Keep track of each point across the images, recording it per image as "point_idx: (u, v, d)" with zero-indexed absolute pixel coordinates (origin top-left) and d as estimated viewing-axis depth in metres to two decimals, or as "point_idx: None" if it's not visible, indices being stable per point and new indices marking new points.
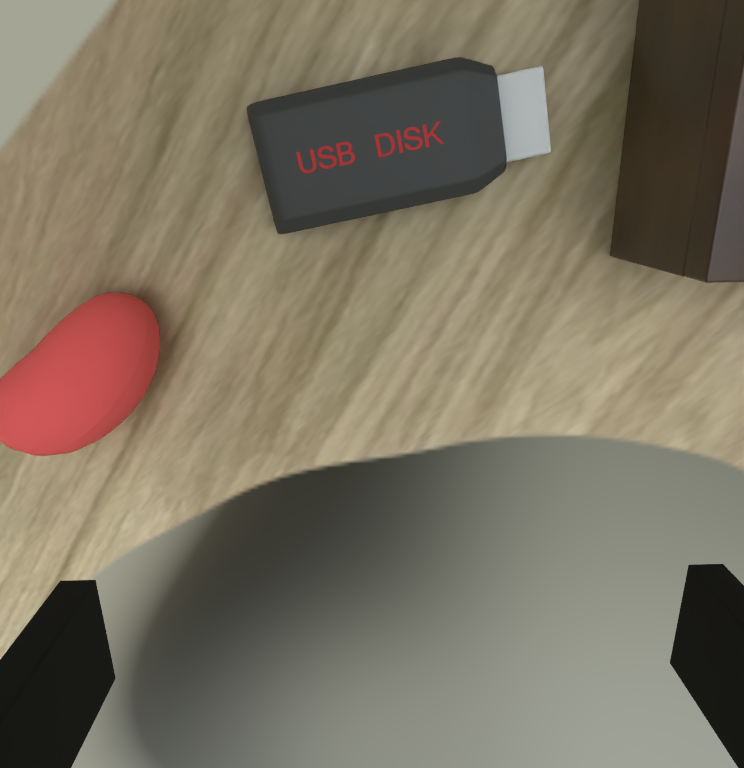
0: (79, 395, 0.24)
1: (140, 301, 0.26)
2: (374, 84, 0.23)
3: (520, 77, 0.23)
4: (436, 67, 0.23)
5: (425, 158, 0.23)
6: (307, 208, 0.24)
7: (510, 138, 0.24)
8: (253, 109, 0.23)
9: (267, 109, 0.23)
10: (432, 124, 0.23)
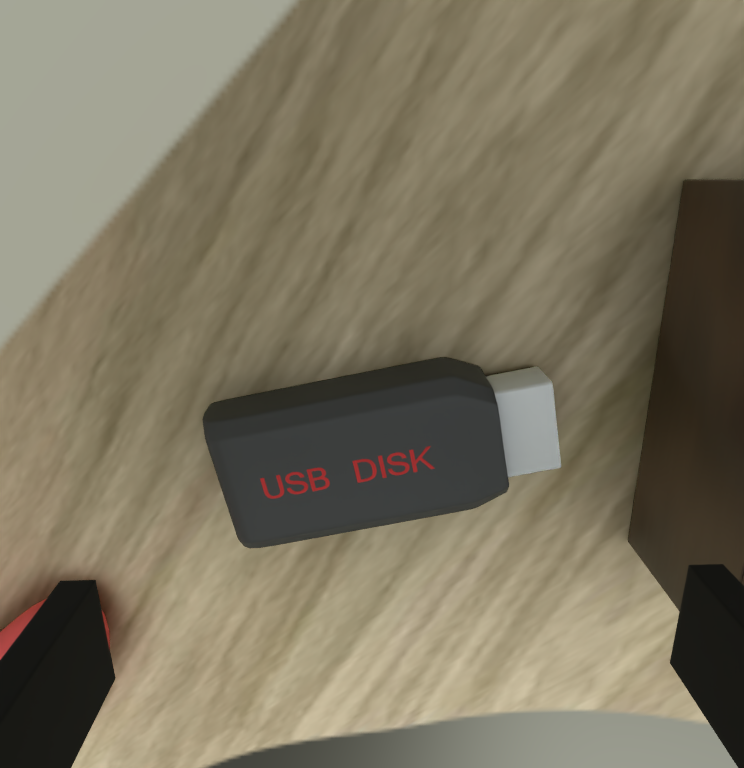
0: None
1: None
2: (351, 407, 0.19)
3: (525, 394, 0.19)
4: (425, 389, 0.19)
5: (412, 482, 0.20)
6: (274, 532, 0.20)
7: (513, 455, 0.20)
8: (209, 430, 0.19)
9: (225, 434, 0.19)
10: (421, 449, 0.19)
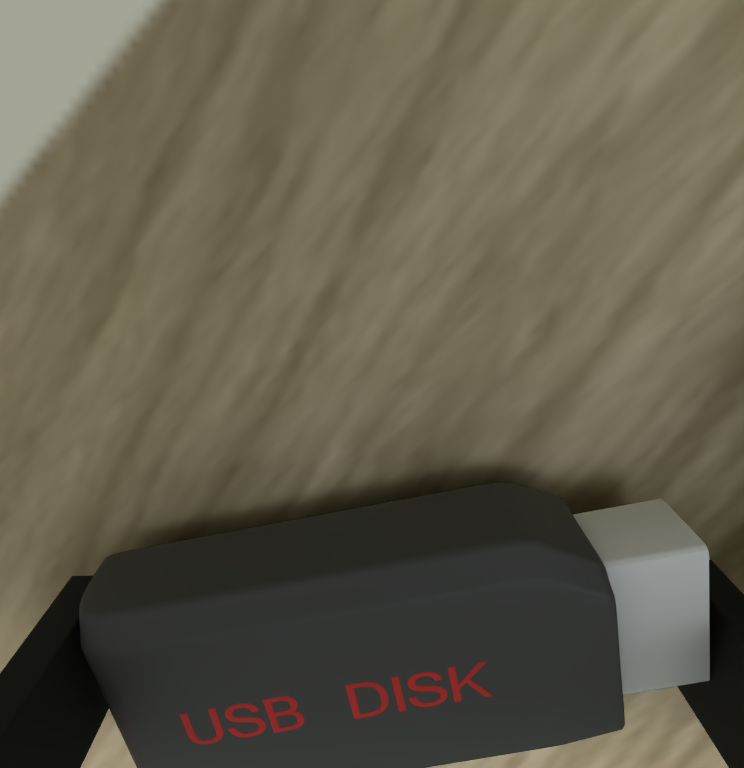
0: None
1: None
2: (343, 597, 0.10)
3: (658, 568, 0.11)
4: (479, 564, 0.10)
5: (451, 718, 0.11)
6: None
7: (628, 664, 0.11)
8: (86, 629, 0.11)
9: (113, 642, 0.11)
10: (469, 667, 0.11)
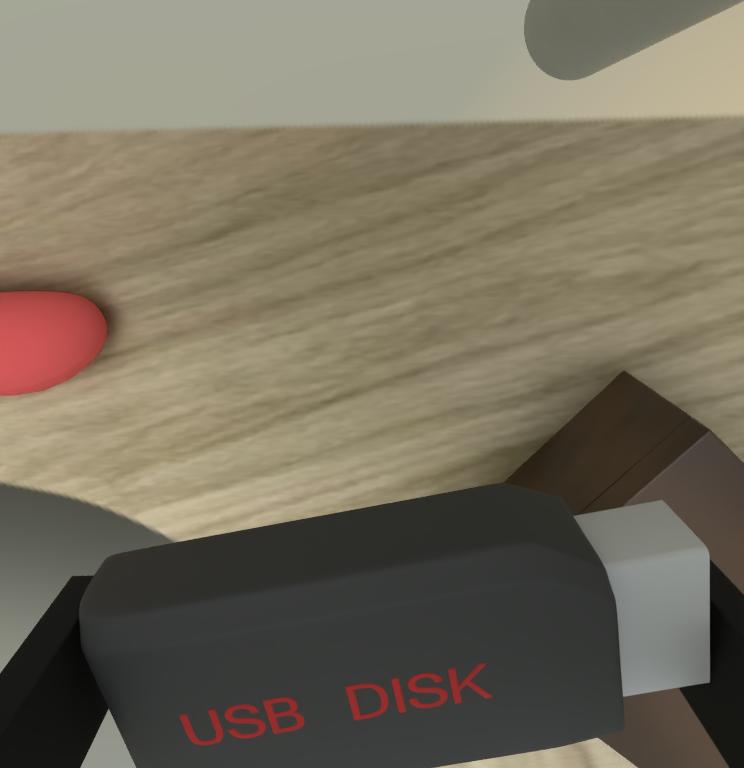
0: None
1: (104, 324, 0.28)
2: (343, 598, 0.10)
3: (659, 570, 0.11)
4: (480, 566, 0.10)
5: (452, 719, 0.11)
6: None
7: (628, 665, 0.11)
8: (86, 630, 0.11)
9: (112, 643, 0.11)
10: (469, 668, 0.11)
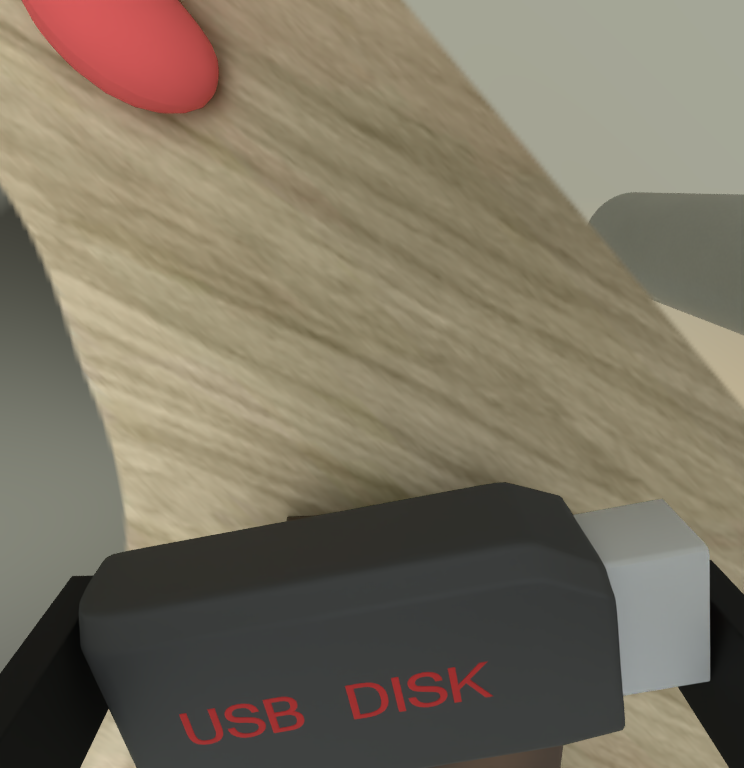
0: (93, 29, 0.21)
1: (211, 96, 0.25)
2: (343, 598, 0.10)
3: (659, 568, 0.11)
4: (479, 565, 0.10)
5: (452, 718, 0.11)
6: None
7: (628, 664, 0.11)
8: (86, 629, 0.11)
9: (113, 643, 0.11)
10: (469, 667, 0.11)
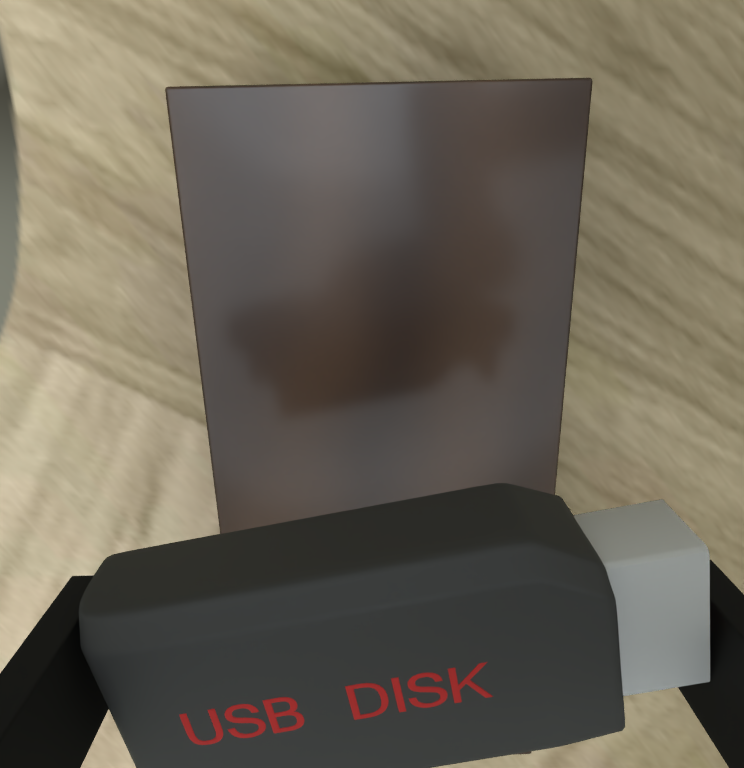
0: None
1: None
2: (344, 598, 0.10)
3: (659, 569, 0.11)
4: (479, 565, 0.10)
5: (452, 719, 0.11)
6: None
7: (628, 665, 0.11)
8: (86, 630, 0.11)
9: (113, 643, 0.11)
10: (469, 667, 0.11)
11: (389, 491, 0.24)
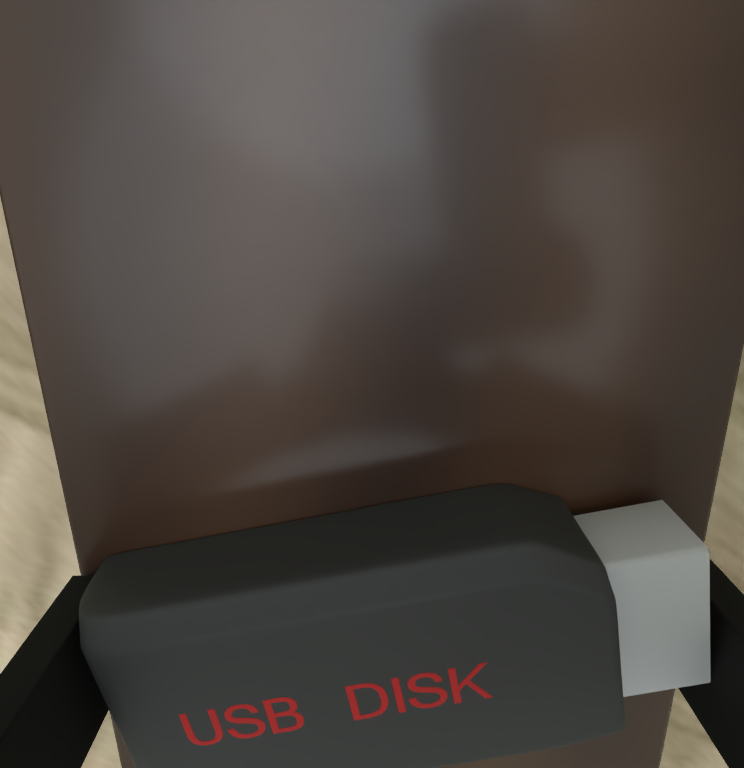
0: None
1: None
2: (343, 598, 0.10)
3: (659, 569, 0.11)
4: (480, 565, 0.10)
5: (452, 720, 0.11)
6: None
7: (629, 666, 0.11)
8: (86, 629, 0.11)
9: (113, 642, 0.11)
10: (469, 668, 0.11)
11: None
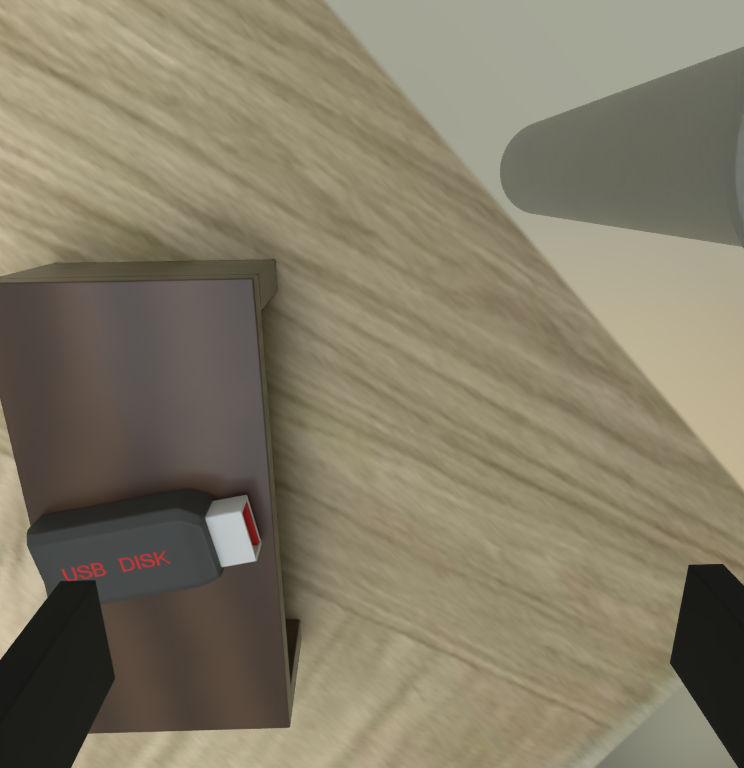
0: None
1: None
2: (114, 527, 0.31)
3: (225, 518, 0.31)
4: (159, 516, 0.31)
5: (158, 571, 0.32)
6: None
7: (224, 553, 0.32)
8: (28, 539, 0.31)
9: (37, 542, 0.31)
10: (160, 552, 0.31)
11: None
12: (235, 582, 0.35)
